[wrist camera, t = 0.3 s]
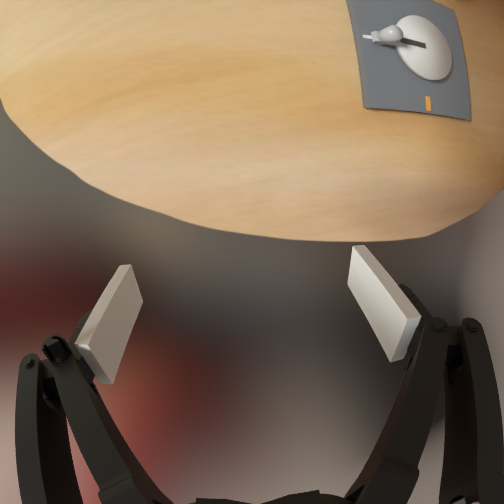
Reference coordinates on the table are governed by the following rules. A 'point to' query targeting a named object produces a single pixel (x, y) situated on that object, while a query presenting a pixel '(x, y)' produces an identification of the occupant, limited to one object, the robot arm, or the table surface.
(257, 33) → the table surface
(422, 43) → the dial
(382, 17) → the panel
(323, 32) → the table surface
